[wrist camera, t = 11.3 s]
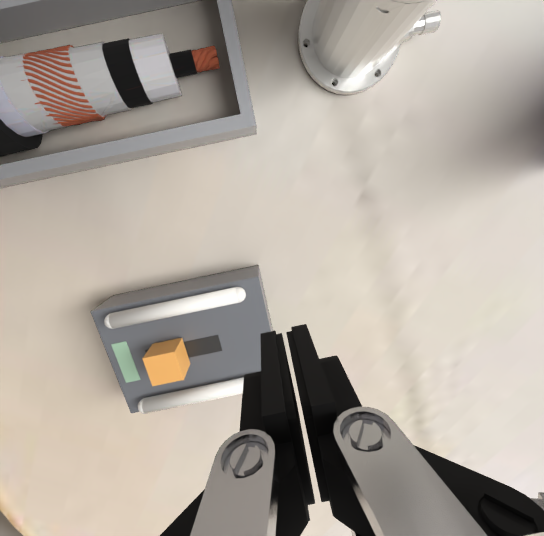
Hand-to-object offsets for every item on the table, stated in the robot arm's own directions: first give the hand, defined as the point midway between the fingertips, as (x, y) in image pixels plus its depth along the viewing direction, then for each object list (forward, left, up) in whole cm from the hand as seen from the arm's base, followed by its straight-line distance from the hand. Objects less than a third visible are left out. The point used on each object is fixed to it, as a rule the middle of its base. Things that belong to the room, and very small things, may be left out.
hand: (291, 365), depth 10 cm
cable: (+18, -21, -32) cm, 43 cm away
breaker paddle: (+16, +12, -26) cm, 32 cm away
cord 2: (+13, +19, -26) cm, 35 cm away
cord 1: (+13, +6, -26) cm, 30 cm away
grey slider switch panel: (+13, +12, -32) cm, 37 cm away
